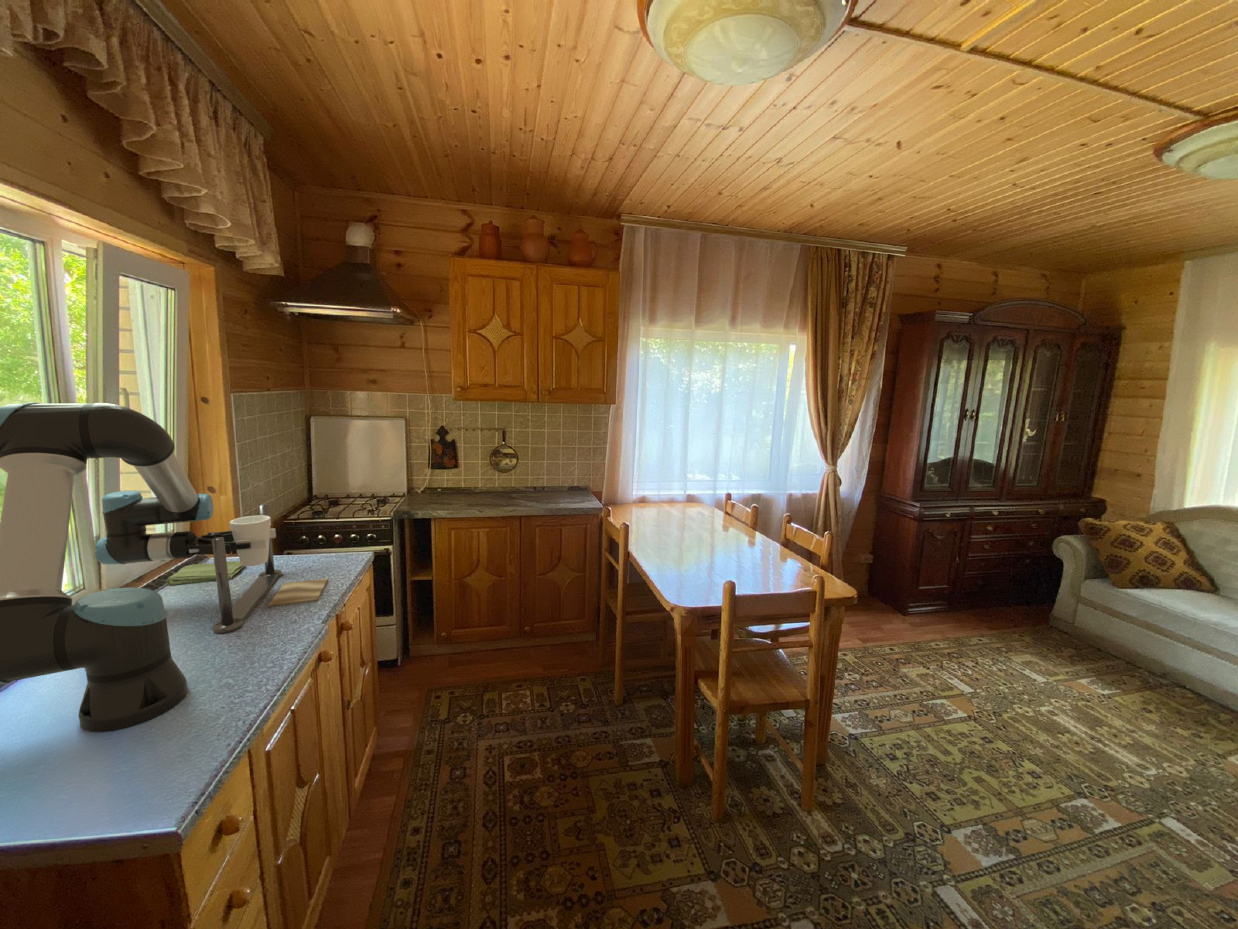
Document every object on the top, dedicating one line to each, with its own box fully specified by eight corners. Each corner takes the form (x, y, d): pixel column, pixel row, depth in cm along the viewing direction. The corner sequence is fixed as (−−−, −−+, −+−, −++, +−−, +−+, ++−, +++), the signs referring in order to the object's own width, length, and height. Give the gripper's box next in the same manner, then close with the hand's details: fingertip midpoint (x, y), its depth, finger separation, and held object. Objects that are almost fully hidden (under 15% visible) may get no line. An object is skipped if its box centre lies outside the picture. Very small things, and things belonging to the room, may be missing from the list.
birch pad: (317, 600, 143) (317, 599, 143) (268, 606, 139) (268, 604, 139) (328, 580, 158) (327, 578, 158) (284, 584, 154) (284, 583, 153)
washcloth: (233, 581, 157) (232, 571, 156) (164, 588, 150) (163, 578, 150) (247, 566, 169) (246, 557, 168) (184, 572, 163) (182, 563, 162)
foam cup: (269, 566, 140) (264, 522, 138) (229, 570, 137) (224, 525, 135) (277, 555, 149) (273, 514, 147) (240, 558, 146) (236, 516, 144)
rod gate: (237, 631, 125) (227, 541, 121) (209, 635, 123) (197, 543, 119) (283, 572, 164) (277, 502, 160) (262, 574, 161) (255, 503, 157)
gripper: (193, 546, 146) (281, 539, 154) (156, 572, 126) (260, 563, 134) (190, 522, 145) (279, 516, 153) (152, 545, 125) (257, 536, 133)
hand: (270, 538), depth 144 cm, fingers closed on foam cup, 9 cm apart
